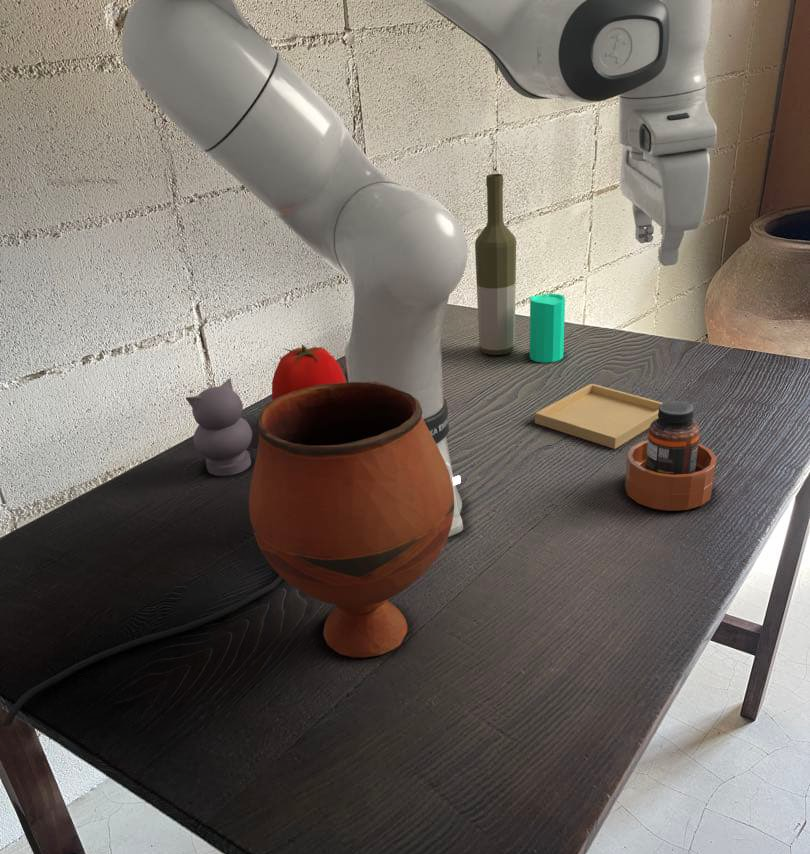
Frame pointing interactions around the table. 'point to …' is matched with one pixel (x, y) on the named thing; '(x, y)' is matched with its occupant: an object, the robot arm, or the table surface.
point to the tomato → (305, 370)
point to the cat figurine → (221, 430)
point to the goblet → (350, 504)
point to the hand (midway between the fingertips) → (655, 252)
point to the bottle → (496, 276)
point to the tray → (600, 415)
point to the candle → (547, 327)
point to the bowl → (669, 481)
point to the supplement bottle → (673, 440)
